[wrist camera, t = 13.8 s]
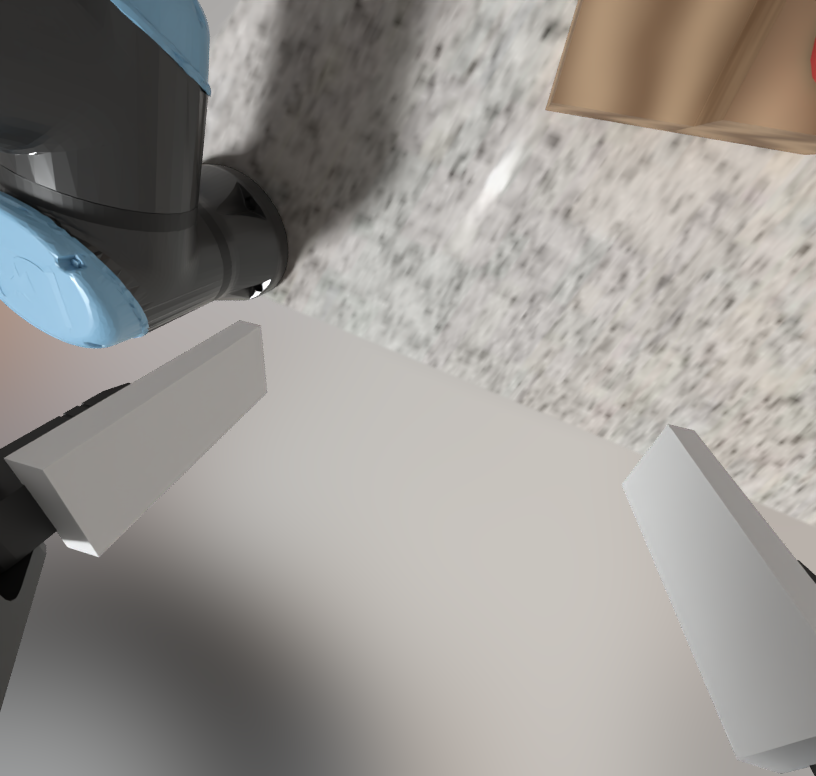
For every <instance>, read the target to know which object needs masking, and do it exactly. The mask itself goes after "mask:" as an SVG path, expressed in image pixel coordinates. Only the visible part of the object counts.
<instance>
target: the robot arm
mask: <svg viewBox="0 0 816 776" xmlns="http://www.w3.org/2000/svg"><path fill="white" fill-rule="evenodd" d="M209 43H210V34H209V26H208V22H207V19H206V16H205V14H204V11H203V9H202V7H201V5H200V4H199V2H198V0H0V299H1V300H2V301H3V302H4V303H5V304H6V305H7V306H8V307H9V308H10V309H12V310H13V311H14V312H15V313H16V314H18V315H19V316H21V317H22V318H23V319H24V320H26V321H27V322H29V323H30V324H32V325H33V326H35V327H36V328H38V329H40V330H41V331H43V332H45V333H46V334H48V335H50V336H52V337H55V338H57V339H59V340H61V341H64V342H66V343H69V344H72V345H76V346H80V347H85V348H104V347H110V346H113V345H115V344H118V343H121V342H123V341H126V340H128V339H131V338H137V337H142V336H144V335H146V334H147V333H148V332H150V331H152V330H154V329H156V328H158V327H160V326H163V325H165V324H167V323H169V322H171V321H173V320H175V319H177V318H179V317H181V316H183V315H185V314H187V313H189V312H191V311H193V310H195V309H197V308H200V307H201V306H204V305H206V304H208V303H209V302H212V301H214V300H234V301H235V300H236V301H238V300H239V301H240V300H249V299H253V298H256V297H258V296H261V295H262V294H264V293H266V292H268V291H270V290H271V289H273V288H274V287H275V286H276V285H277V284H278V282H279V281H280V280H281V278H282V276H283V274H284V272H285V269H286V265H287V259H288V244H287V237H286V233H285V229H284V226H283V223H282V220H281V218H280V216H279V214H278V212H277V210H276V208H275V206H274V205H273V203H272V202H271V200H270V199H269V197H268V196H267V195H266V194H265V192H264V191H263V190H262V189H261V188H260V187H259V186H258V185H257V184H256V183H255V182H254V181H252V180H251V179H250V178H249V177H247V176H246V175H244V174H242V173H241V172H239V171H237V170H235V169H232V168H230V167H226V166H222V165H208V164H202V158H203V147H204V136H205V125H206V114H207V103H208V96H210V97H211V88H210V86H209V84H208V71H209ZM266 393H267V386H266V375H265V364H264V353H263V342H262V332H261V326H260V325H257V324H253V323H249V322H245V321H241V320H239V321H237V322H236V323H234V324H232V325H231V326H229V327H227V328H226V329H224V330H222V331H220V332H219V333H217V334H215V335H214V336H212V337H210V338H209V339H207V340H205V341H203V342H202V343H200V344H198V345H196V346H195V347H193V348H191V349H190V350H188V351H186V352H184V353H183V354H181V355H179V356H178V357H176V358H174V359H172V360H171V361H169V362H167V363H166V364H164V365H162V366H160V367H159V368H157V369H155V370H154V371H152V372H150V373H148V374H147V375H145V376H144V377H142V378H140V379H138V380H137V381H135V382H133V383H126V384H123V385H120V386H117V387H114V388H111V389H108V390H105V391H103V392H101V393H99V394H97V395H96V396H94V397H92V398H90V399H88V400H87V401H85V402H83V403H82V405H81V406H76V407H74V408H72V409H71V410H69V411H67V412H65V413H64V415H63V416H62V417H60V416H58V417H56V418H55V419H53V420H51V421H49V422H47V423H46V424H44V425H42V426H40V427H39V428H37V429H35V430H33V431H32V432H30V433H28V434H26V435H24V436H23V437H21V438H19V439H17V440H15V441H14V442H12V443H10V444H8V445H7V446H5V447H3V448H1V449H0V710H1V707H2V704H3V700H4V697H5V693H6V690H7V686H8V683H9V680H10V676H11V673H12V669H13V666H14V662H15V659H16V655H17V652H18V649H19V646H20V642H21V639H22V635H23V631H24V628H25V624H26V622H27V618H28V615H29V611H30V608H31V605H32V601H33V598H34V594H35V591H36V587H37V584H38V581H39V577H40V574H41V570H42V567H43V563H44V560H45V557H46V545H45V544H44V543H43V542H44V541H45V540H46V539H47V538H49V537H50V536H51V535H52V534H53V533H55V532H57V533H58V534H59V536H60V537H61V538H62V540H63V541H64V543H65V544H66V545H67V547H69V548H72V549H75V550H78V551H82V552H85V553H88V554H91V555H94V556H97V557H100V556H101V555H102V554H103V553H104V552H105V551H106V550H107V549H108V548H109V547H110V546H111V545H112V544H113V543H114V542H115V541H116V540H117V539H118V538H119V537H120V536H121V535H122V534H123V533H124V532H125V531H126V530H127V529H128V528H129V527H130V526H131V525H132V524H133V523H134V522H135V521H136V520H137V519H138V518H139V517H140V516H142V515H143V514H144V513H145V512H146V511H147V510H148V509H149V508H150V507H151V506H152V505H153V504H154V503H155V502H156V501H157V500H158V499H159V498H160V497H161V496H162V495H163V494H164V493H165V492H166V491H167V490H168V489H169V488H170V487H171V486H172V485H173V484H174V483H175V482H176V481H177V480H178V479H179V478H180V477H181V476H182V475H183V474H184V473H186V471H188V470H189V469H190V468H191V467H192V466H193V465H194V464H195V463H196V462H197V461H198V460H199V459H200V458H201V457H202V456H203V455H204V454H205V453H206V452H207V451H208V450H209V449H210V448H211V447H212V446H213V445H214V444H215V443H216V442H217V441H218V440H219V439H220V438H221V437H222V436H223V435H224V434H225V433H226V432H227V431H228V430H229V429H230V428H231V427H232V426H233V425H234V424H236V422H238V421H239V420H240V419H241V418H242V417H243V416H244V415H245V414H246V413H247V412H248V411H249V410H250V409H251V408H252V407H253V406H254V405H255V404H256V403H257V402H258V401H259V400H260V399H261V398H262V397H263V396H264V395H265V394H266ZM622 487H623V489H624V492H625V494H626V497H627V499H628V501H629V504H630V506H631V508H632V511H633V513H634V516H635V517H636V520H637V523H638V525H639V527H640V530H641V532H642V535H643V537H644V539H645V542H646V544H647V547H648V549H649V551H650V553H651V556H652V559H653V561H654V563H655V566H656V568H657V570H658V573H659V575H660V577H661V580H662V582H663V585H664V587H665V590H666V592H667V594H668V597H669V599H670V601H671V604H672V606H673V608H674V611H675V613H676V616H677V618H678V620H679V623H680V625H681V628H682V630H683V632H684V635H685V637H686V640H687V642H688V644H689V647H690V649H691V651H692V654H693V656H694V658H695V661H696V663H697V665H698V668H699V670H700V673H701V675H702V678H703V680H704V682H705V685H706V687H707V690H708V692H709V694H710V697H711V699H712V702H713V704H714V706H715V709H716V711H717V713H718V716H719V718H720V721H721V723H722V725H723V728H724V730H725V733H726V735H727V737H728V739H729V742H730V744H731V747H732V749H733V752H734V754H735V756H736V759H737V760H739V761H743V762H746V763H749V764H752V765H755V766H758V767H762V768H764V769H768V770H771V771H774V772H777V773H780V774H783V773H787V772H791V771H795V770H799V769H803V768H807V767H810V768H811V770H812V772H813V773H814V775H815V776H816V575H814V574H813V573H812V572H811V571H810V570H809V569H808V568H807V567H806V566H804V565H803V564H802V563H801V562H800V561H799V560H796V558H795V557H794V556H793V555H792V553H791V552H790V551H789V549H788V548H787V547H786V546H785V544H784V543H783V542H782V541H781V539H780V538H779V537H778V536H777V534H776V533H775V532H774V531H773V529H772V528H771V527H770V526H769V524H768V523H767V522H766V520H765V519H764V518H763V517H762V515H761V514H760V513H759V512H758V511H757V509H756V508H755V507H754V505H753V504H752V503H751V501H750V500H749V499H748V498H747V496H746V495H745V494H744V493H743V491H742V490H741V489H740V488H739V486H738V485H737V484H736V483H735V481H734V480H733V479H732V477H731V476H730V475H729V474H728V472H727V471H726V470H725V469H724V467H723V466H722V465H721V464H720V462H719V461H718V460H717V458H716V457H715V456H714V455H713V453H712V452H711V451H710V450H709V448H708V447H707V446H706V445H705V443H704V442H703V441H702V440H701V438H700V437H699V436H698V434H697V433H696V432H695V431H694V430H690V429H686V428H682V427H678V426H674V425H669V424H668V425H667V426H666V427H665V429H664V430H663V431H662V433H661V434H660V435H659V436H658V438H657V439H656V440H655V442H654V443H653V444H652V446H651V447H650V448H649V449H648V451H647V452H646V453H645V455H644V456H643V457H642V459H641V460H640V461H639V462H638V464H637V465H636V467H635V468H634V469H633V470H632V472H631V473H630V474H629V476H628V477H627V478H626V479H625V481H624V482H623V483H622Z"/></svg>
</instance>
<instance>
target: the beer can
mask: <svg viewBox="0 0 816 776" xmlns="http://www.w3.org/2000/svg"><path fill="white" fill-rule="evenodd" d="M810 62H811V70H812V78H813V79H814V81H815V82H816V37H815V41H814V45H813V50H812V54H811V59H810Z"/></svg>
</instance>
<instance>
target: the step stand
mask: <svg viewBox="0 0 816 776" xmlns="http://www.w3.org/2000/svg"><path fill="white" fill-rule="evenodd" d="M815 37H816V0H578V3H577V6H576V10H575V13H574V16H573V20H572V23H571V26H570V30H569V33H568V36H567V40H566V43H565V46H564V50H563V53H562V56H561V60H560V63H559V66H558V70H557V73H556V76H555V80H554V83H553V86H552V90H551V93H550V96H549V100H548V103H547V106H546V110H548V111H553V112H559V113H565V114H571V115H577V116H582V117H588V118H594V119H600V120H606V121H612V122H617V123H623V124H629V125H635V126H641V127H646V128H652V129H658V130H664V131H670V132H675V133H681V134H687V135H693V136H699V137H704V138H710V139H716V140H722V141H728V142H733V143H739V144H745V145H751V146H757V147H762V148H768V149H774V150H780V151H786V152H791V153H797V154H803V155H810V154H816V82H815V81H814V79H813V78H812V70H811V62H810V59H811V54H812V50H813V45H814V41H815Z"/></svg>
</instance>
